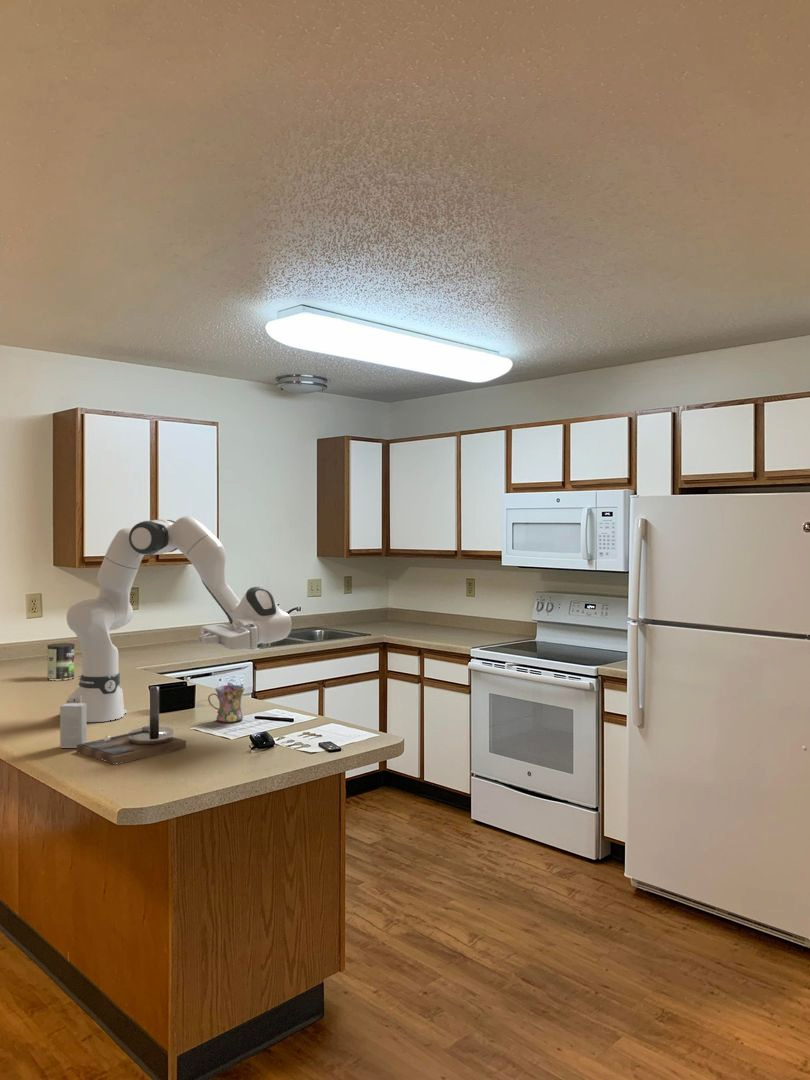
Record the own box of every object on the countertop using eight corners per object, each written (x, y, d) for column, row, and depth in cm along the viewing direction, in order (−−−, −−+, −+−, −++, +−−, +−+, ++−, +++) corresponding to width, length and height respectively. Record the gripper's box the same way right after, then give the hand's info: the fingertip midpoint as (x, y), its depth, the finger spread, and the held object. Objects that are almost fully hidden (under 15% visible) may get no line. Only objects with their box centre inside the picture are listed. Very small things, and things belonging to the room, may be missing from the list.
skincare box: (87, 745, 228) (87, 702, 228) (81, 749, 224) (81, 706, 224) (65, 745, 228) (65, 702, 228) (59, 749, 224) (59, 706, 224)
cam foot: (94, 745, 219) (94, 687, 219) (155, 731, 235) (155, 676, 235) (125, 754, 211) (125, 693, 211) (186, 738, 227) (186, 682, 227)
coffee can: (78, 676, 335) (78, 643, 335) (67, 681, 325) (68, 646, 325) (54, 676, 335) (54, 642, 335) (42, 681, 325) (42, 646, 325)
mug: (237, 715, 266) (237, 683, 266) (249, 721, 259) (249, 688, 258) (202, 720, 259) (202, 687, 259) (213, 726, 252) (213, 692, 252)
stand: (76, 751, 221) (76, 743, 221) (147, 736, 238) (147, 728, 238) (115, 764, 209) (115, 755, 209) (185, 747, 226) (186, 739, 226)
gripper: (226, 617, 249) (184, 623, 241) (259, 628, 234) (215, 635, 225) (226, 637, 250) (185, 644, 241) (259, 649, 234) (216, 657, 226)
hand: (199, 640), depth 233 cm, fingers closed
